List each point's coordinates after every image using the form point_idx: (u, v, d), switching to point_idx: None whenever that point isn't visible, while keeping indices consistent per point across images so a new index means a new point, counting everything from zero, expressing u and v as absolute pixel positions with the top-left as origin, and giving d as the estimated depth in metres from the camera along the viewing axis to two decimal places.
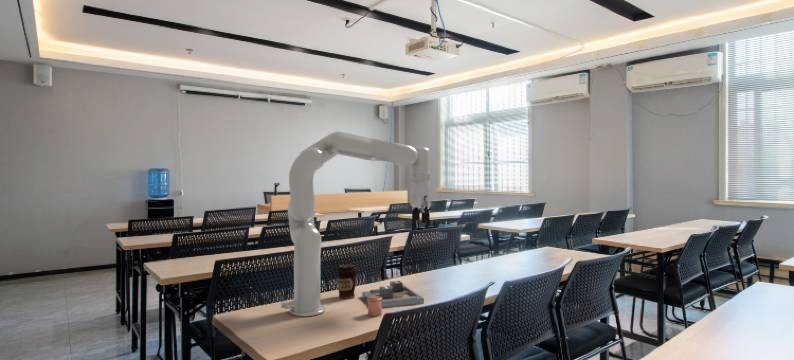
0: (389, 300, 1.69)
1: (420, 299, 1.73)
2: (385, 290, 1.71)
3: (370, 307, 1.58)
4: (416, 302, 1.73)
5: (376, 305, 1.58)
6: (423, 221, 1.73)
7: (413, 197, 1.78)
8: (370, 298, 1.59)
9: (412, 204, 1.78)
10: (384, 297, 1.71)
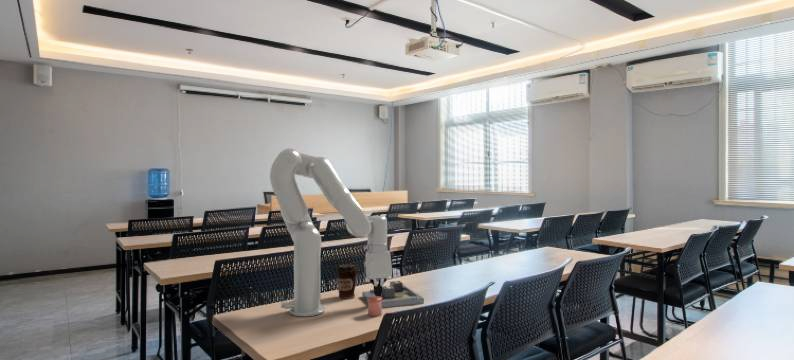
0: (389, 300, 1.69)
1: (420, 299, 1.73)
2: (387, 290, 1.71)
3: (370, 307, 1.58)
4: (416, 302, 1.73)
5: (376, 305, 1.58)
6: None
7: (378, 269, 1.69)
8: (370, 298, 1.59)
9: (377, 276, 1.69)
10: (386, 297, 1.71)
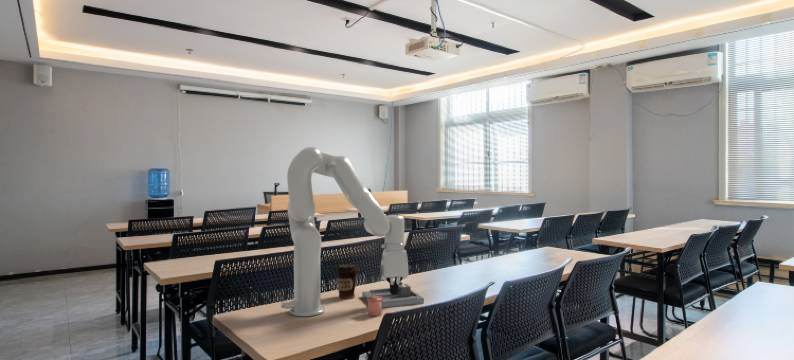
0: (389, 300, 1.69)
1: (420, 299, 1.73)
2: (403, 288, 1.73)
3: (370, 307, 1.58)
4: (416, 302, 1.73)
5: (376, 305, 1.58)
6: None
7: (394, 267, 1.71)
8: (370, 298, 1.59)
9: (393, 275, 1.71)
10: (402, 295, 1.73)
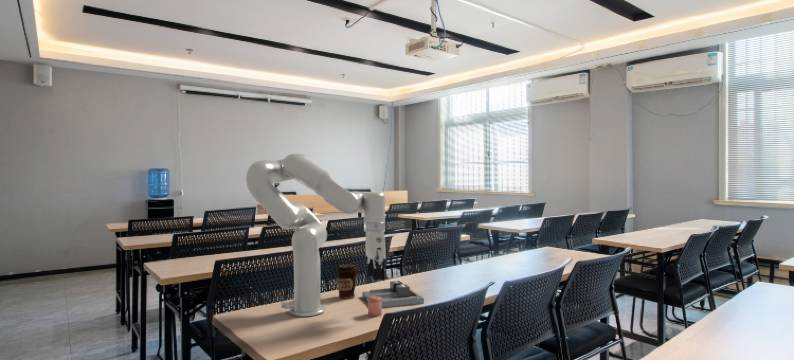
0: (389, 300, 1.69)
1: (420, 299, 1.73)
2: (402, 288, 1.73)
3: (370, 307, 1.58)
4: (416, 302, 1.73)
5: (376, 305, 1.58)
6: None
7: None
8: (370, 298, 1.59)
9: None
10: (401, 295, 1.73)
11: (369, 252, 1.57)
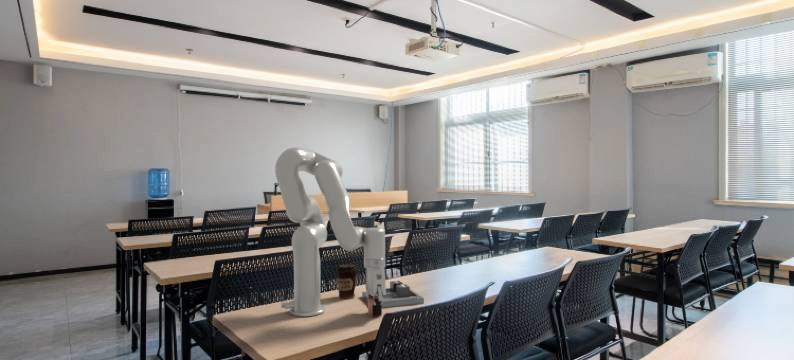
0: (389, 300, 1.69)
1: (420, 299, 1.73)
2: (402, 288, 1.73)
3: (370, 307, 1.58)
4: (416, 302, 1.73)
5: None
6: None
7: None
8: (370, 298, 1.59)
9: None
10: (401, 295, 1.73)
11: (369, 288, 1.58)
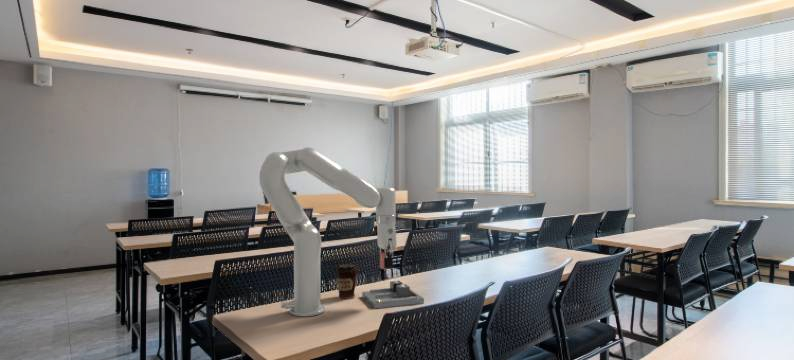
0: (389, 300, 1.69)
1: (420, 299, 1.73)
2: (402, 288, 1.73)
3: (382, 260, 1.71)
4: (416, 302, 1.73)
5: None
6: None
7: None
8: (382, 252, 1.72)
9: None
10: (401, 295, 1.73)
11: (381, 243, 1.71)
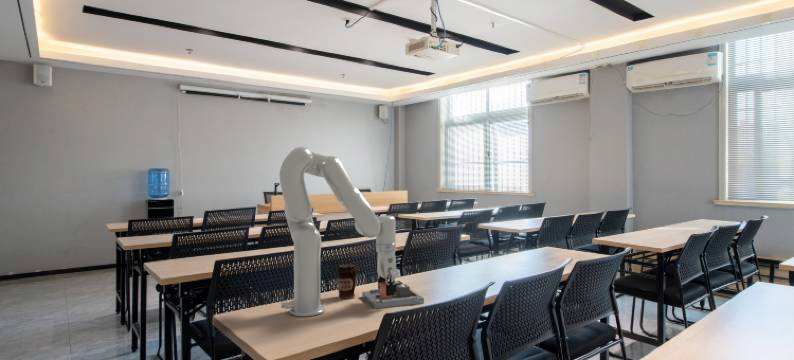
0: (389, 300, 1.69)
1: (420, 299, 1.73)
2: (402, 288, 1.73)
3: (382, 291, 1.71)
4: (416, 302, 1.73)
5: None
6: None
7: None
8: (382, 283, 1.72)
9: None
10: (401, 295, 1.73)
11: (381, 271, 1.71)
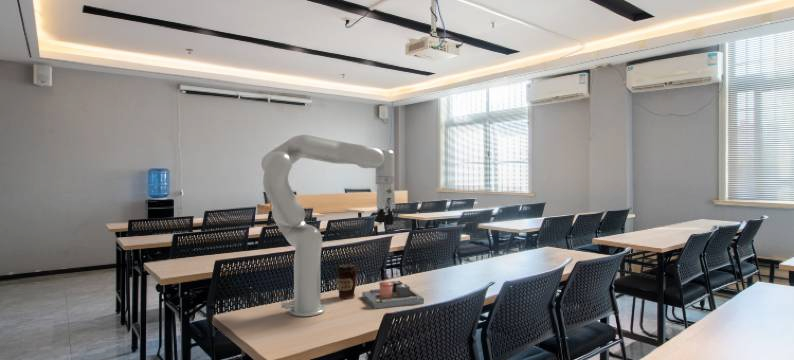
0: (389, 300, 1.69)
1: (420, 299, 1.73)
2: (402, 288, 1.73)
3: (382, 291, 1.71)
4: (416, 302, 1.73)
5: (387, 289, 1.71)
6: None
7: None
8: (382, 283, 1.72)
9: None
10: (401, 295, 1.73)
11: (380, 203, 1.77)
